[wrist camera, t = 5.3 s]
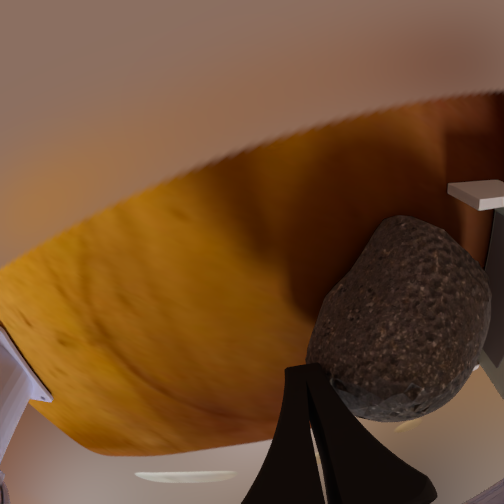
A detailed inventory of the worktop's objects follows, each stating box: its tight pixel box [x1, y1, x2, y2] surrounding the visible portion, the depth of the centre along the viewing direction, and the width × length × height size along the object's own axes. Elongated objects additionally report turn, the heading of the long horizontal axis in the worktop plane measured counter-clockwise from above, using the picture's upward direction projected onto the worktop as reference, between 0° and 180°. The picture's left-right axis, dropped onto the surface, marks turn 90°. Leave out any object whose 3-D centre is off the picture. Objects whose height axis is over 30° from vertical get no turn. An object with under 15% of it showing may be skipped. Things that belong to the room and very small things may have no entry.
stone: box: [305, 215, 492, 422], centre depth 13 cm, size 10×8×10 cm
